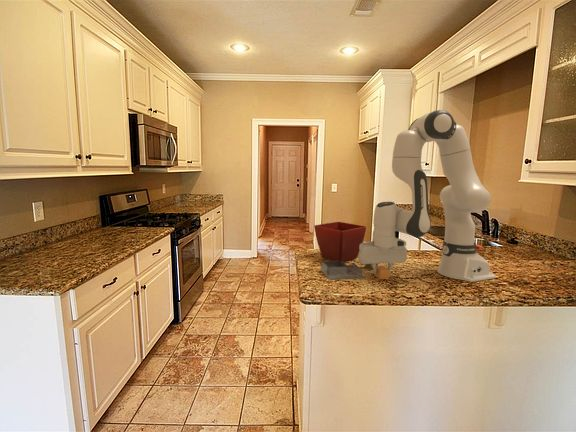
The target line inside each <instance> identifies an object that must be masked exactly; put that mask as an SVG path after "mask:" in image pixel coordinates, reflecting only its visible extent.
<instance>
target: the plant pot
mask: <svg viewBox="0 0 576 432" xmlns="http://www.w3.org/2000/svg"><path fill="white" fill-rule="evenodd" d="M366 230H367V226H365V225H361V224H360V225H359V224H355V223H349V222H344V221H343V222H342V221H334V222H328V223H321V224H314V232H315V233H314V234H315V238H316V241H317V242H316V243H317V245H318V248H319V251H320V254H321V255H320V256H322V258H324V259H327V260H329V261H341V260H342V261H343V262H344V263H345V262H348V261H351V260H356V259H357V257H358V256H359V245H360V244H361V243H363V242H364V239H365V235H366V232H367V231H366Z"/></svg>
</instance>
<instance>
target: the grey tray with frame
mask: <svg viewBox="0 0 576 432" xmlns="http://www.w3.org/2000/svg"><path fill="white" fill-rule="evenodd" d="M321 263H322V264H321V266H320V270H321V272H322V273H323V274H324V275H325V277H326V278H327V279H328V280H329V281H330V280H332V281H334V280H336V281H337V280H352V279H353V280H354V279H364V278H365V274H364V273H363V272H364V271H363V269H362V268H361V267H360V266H358V265H357V264H356V263H355V262H351V264H346V263H345V262H343V261H342V260H341V261H333V260H322V261H321Z"/></svg>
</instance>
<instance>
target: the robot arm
mask: <svg viewBox="0 0 576 432" xmlns="http://www.w3.org/2000/svg"><path fill="white" fill-rule="evenodd" d="M431 142H435V143H436V145H437V147H438V151H439V157H440V163H441V169H442V173H443V175H444V176H445V178H446V179H447V180H448V183H449V185H446V186H444V187H443V188H442V189H441V190H440V193H439V200H440V202H441V204H442V209H443V213H444V218H445V219H444V220H445V221H444V222H445V223H444V224H445V226H444V240H443V241H442V247H441V248H442V254H441V260H440V263H439V266H438V268H437V270H436V271H437V273H438V274H439V275H442V276H444V277H447V278H451V279H455V280H463V281H466V282H471V283H473V282H480V281H485V280H492V279H496V277H497V276H496V275H495V274H494V273H493V272H492V271H490V264H489V263H490V262H489V261H487V260H486V259H485V258H484V257H483V256H482V255H480V254H479V253H478V251H482V250H483V245H481V244H480V245H479V244H475V236H476V224H475V221H473V217H472V214H471V213H479V212H483V211H485V210H487V209H488V207H489V206H490V204H491V201H492V200H491V199H492V197H491V193H490V192H489V191H488V190H487V189H486V188H485V187H484V185H483V184H482V182H481V180H480V178H479V176H478V174H477V172H476V169H475V166H474V161H473V156H472V155H473V154H472V151H471V150H472V149H471V145H470V141H469V138H468V135H467V132H466V130H465V128H464V127H463V125H461V124H457V122H456V121H455V119H454V117H453V115H452V114H451V113H450V112H449V111H448V110H443V109H442V110H441V109H439V110H438V109H437V110H433V111H431V112H428V113H425V114H423V115H422V116H420V117H417V118H416V119H415V120H413V122H412V123H411V124H410V125H409V127H408V129H406V130H403V131H401V132H399V133H398V134H397V136H396V138H395V142H394V146H393V151H392V158H391V159H392V161H391V170H392V173H393V175H394V176H395V177H396V178H397V179H399V180H401V181H402V182H404V183H405V184H407V185H408V187H410V189H411V201H412V210H407V209H404V208H402V207H399V206H397V204H396V203H395V202H393V201H381V202H379V203H377V204H376V205H375V208H374V212H373V220H372V221H373V231H372V241H370V240H369V241H363V243H361V244H360V245H359V253H358V256H357V257H358V259H357V260H358V262H359V263H360V264H362V265H365V264H371V266H372V268H373V270H372V273H373V275H374V274H378V269H376V268H375V266H376V264H378V265H379V264H388V266H387V267H386V268H388V269H389V270H390V271H391V270H392V269H393V267H394V264H397V263H398V264H400V263H402V264H404V263H405V262H406V261H407V258H408V249H407V247H406V246H407V241H406V240H404V239H401V238H399V237H396V232H398V233H402V234H406V235H409V236H410V237H413V238H417V239H418V238H422V237H424V236H425V235H426V234H427V233H429V231H430V230H431V227H432V221H431V217H430V216H431V215H430V211H429V208H430V207H429V190H428V179H427V174H426V173H425V171H424V170H423V167H422V154H423V153H422V151H423V148H424V146H425V144H426V143H431Z"/></svg>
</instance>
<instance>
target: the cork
mask: <svg viewBox="0 0 576 432" xmlns="http://www.w3.org/2000/svg"><path fill="white" fill-rule="evenodd" d="M376 266H379V264H376ZM364 269H366V270H369V269H370V270H371V271H373V268H372V266H371V264H364Z"/></svg>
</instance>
